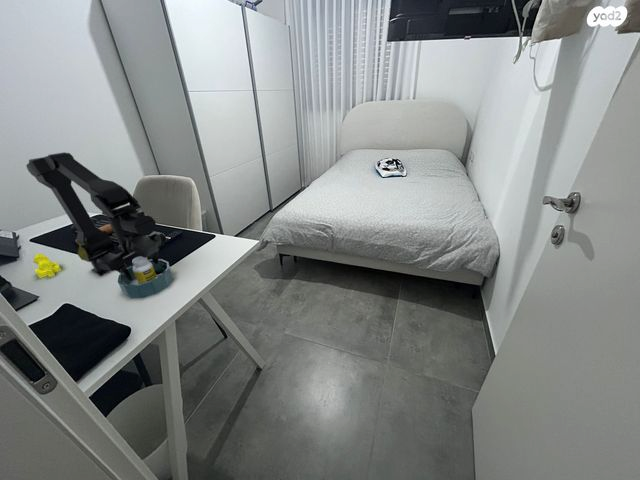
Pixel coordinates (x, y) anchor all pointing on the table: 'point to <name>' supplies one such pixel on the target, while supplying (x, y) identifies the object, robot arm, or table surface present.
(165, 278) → the teal ring-shaped band
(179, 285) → the table surface
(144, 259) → the supplement bottle
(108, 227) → the sunglasses case
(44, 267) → the crumpled paper
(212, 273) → the table surface
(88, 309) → the table surface
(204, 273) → the table surface
